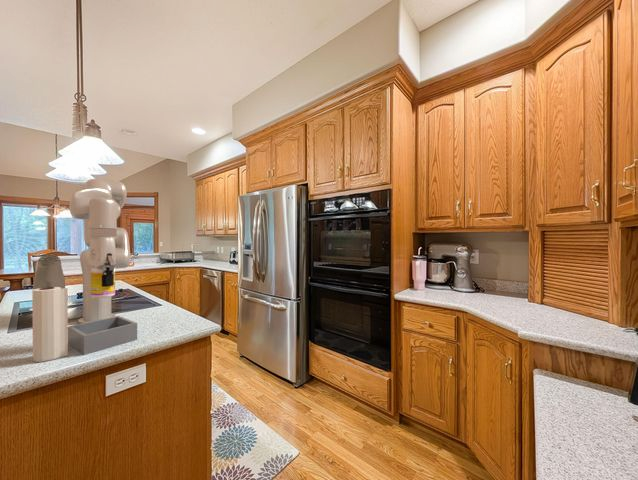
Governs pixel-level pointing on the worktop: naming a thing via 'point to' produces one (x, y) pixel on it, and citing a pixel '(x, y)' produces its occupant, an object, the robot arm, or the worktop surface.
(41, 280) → the grey rounded cylinder
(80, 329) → the walled box
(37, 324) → the paper towel roll
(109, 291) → the supplement bottle
